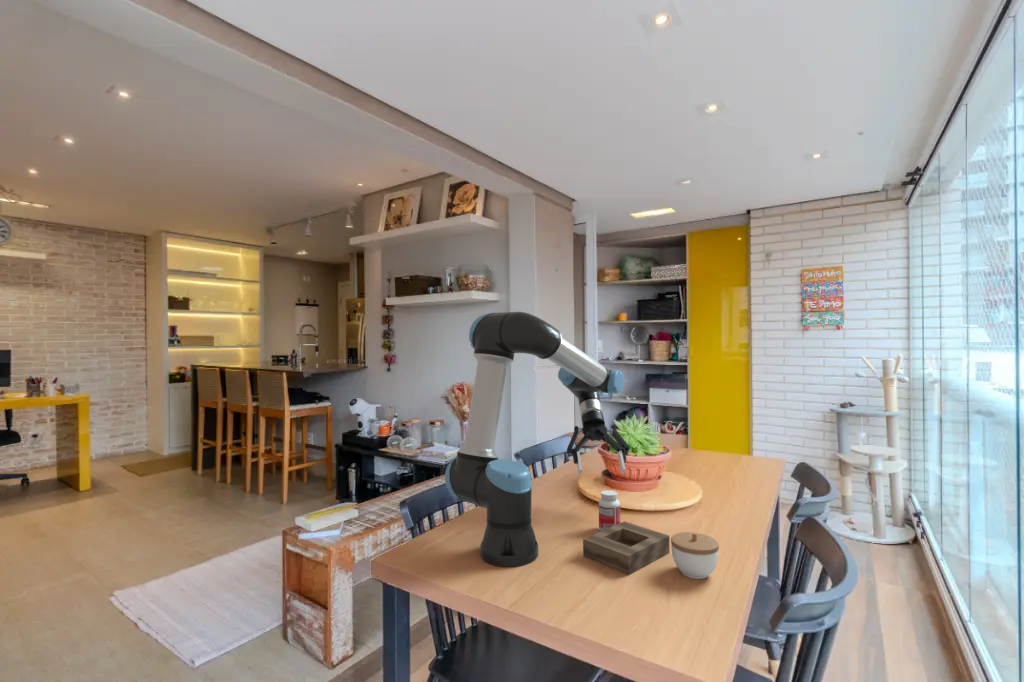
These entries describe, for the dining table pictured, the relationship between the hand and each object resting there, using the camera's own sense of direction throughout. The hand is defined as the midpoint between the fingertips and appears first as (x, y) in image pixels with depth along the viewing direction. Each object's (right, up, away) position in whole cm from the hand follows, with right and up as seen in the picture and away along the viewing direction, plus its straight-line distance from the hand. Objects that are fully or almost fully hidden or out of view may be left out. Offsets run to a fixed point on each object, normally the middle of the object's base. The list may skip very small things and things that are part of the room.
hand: (602, 471), depth 158 cm
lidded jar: (+15, -15, -37) cm, 43 cm away
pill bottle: (0, -15, -10) cm, 18 cm away
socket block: (+2, -15, -27) cm, 30 cm away
